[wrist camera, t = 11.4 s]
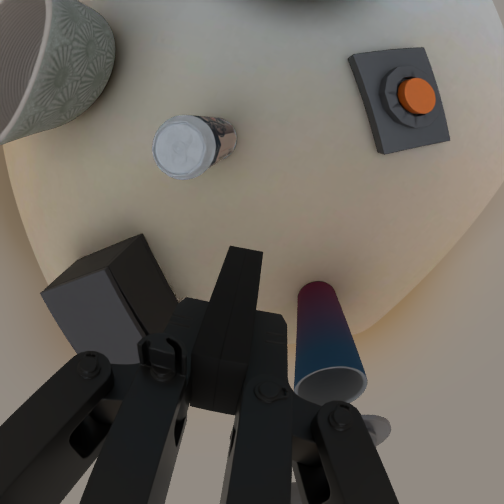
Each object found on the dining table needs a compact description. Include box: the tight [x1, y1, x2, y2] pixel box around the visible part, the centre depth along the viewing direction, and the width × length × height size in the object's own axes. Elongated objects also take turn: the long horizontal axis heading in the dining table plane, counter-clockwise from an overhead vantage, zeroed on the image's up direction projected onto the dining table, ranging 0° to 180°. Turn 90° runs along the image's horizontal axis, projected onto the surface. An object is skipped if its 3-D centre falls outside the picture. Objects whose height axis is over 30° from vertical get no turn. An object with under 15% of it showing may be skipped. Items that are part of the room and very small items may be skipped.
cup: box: [294, 281, 367, 406], centre depth 29 cm, size 7×7×15 cm
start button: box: [398, 78, 436, 114], centre depth 20 cm, size 4×4×2 cm
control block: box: [348, 47, 450, 155], centre depth 22 cm, size 11×9×4 cm
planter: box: [0, 0, 115, 145], centre depth 18 cm, size 17×17×15 cm
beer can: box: [152, 115, 237, 180], centre depth 23 cm, size 5×5×12 cm
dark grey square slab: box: [40, 267, 146, 364], centre depth 30 cm, size 14×14×1 cm
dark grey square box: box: [45, 234, 178, 336], centre depth 34 cm, size 14×14×9 cm
